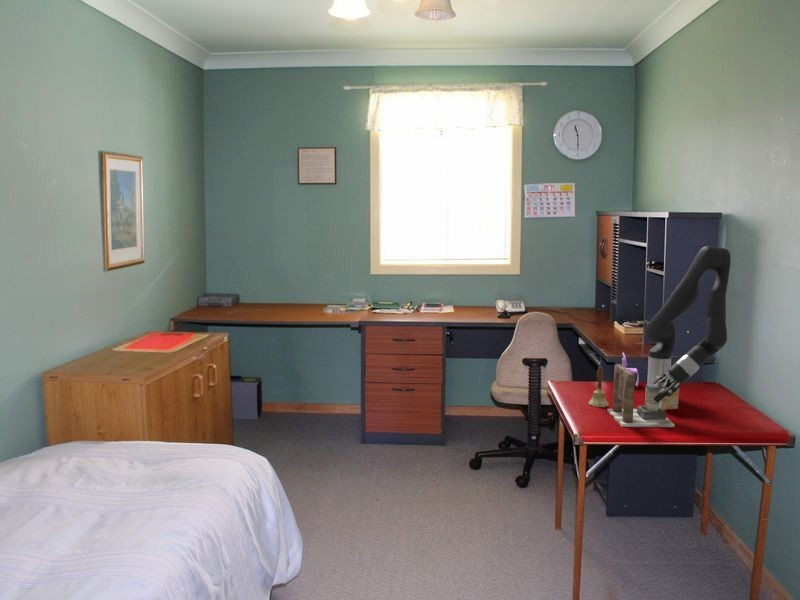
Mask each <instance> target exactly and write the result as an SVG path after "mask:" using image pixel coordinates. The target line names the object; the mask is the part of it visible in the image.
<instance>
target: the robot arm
mask: <svg viewBox="0 0 800 600" xmlns="http://www.w3.org/2000/svg"><path fill="white" fill-rule="evenodd" d="M731 259H732V258H731V253H730V250H728V249H727V248H725V247H719V246H712V245H705V246H703V247H702V248H700V249H699V251H698V252H697V254H696V255H695V257H694V258H693V261H692V263H691V264H690V267H688V270H687V271H686V273H685V274H684V276H683V277H682V279H681V281H680V282H679V283H678V284H677V286H675V288H674V290H673V291H672V292H671V294H670V296H669V298H668V299H667V300H665V302H664V304H663V305H662V307H661V308H660V309H659V310H658V311H657V313H656V314H655V315H654V316H653V317H652V318H651V319H650V320H649V321H648V323H647V324H646V327H645V330H644V332H645V333H644V335H645V337H646V338H647V340H649V342H654V343H656V342H657V343H656V344H655V345H654V346H652V347H651V348H650V349H649V350H648V363H647V379H646V381H647V382H646V385H657V386H659V387H660V389H663V390H662V391H661V392H662V393H661V392H660V393H659V394H658V395H657V396H656V397H655V398H654V400H655V401H656V402H657V403H658V402H660V401H661V400H662V399H663V398H664V397H665V396H666V397H667V396H668V397H670V396H671V395H672V394H673V393H674V392H675V391H676V390H677V389H678V388H679V389H680V388H681V385H684V383H685V382H686V381H688V380H689V379H690V378H691V377H692V376H693V375H695V373H696V372H698V370H699V369H700V368H701V367H702V366H703V365H704V364H705V363H706V362H707V361H708V360H710V358H711V357H712V356H713V355H715V354H716V353H717V352H719V351H720V350H721V349H723V348H724V346H726V343H727V341H728V334H727V333H728V332H727V331H728V330H727V323H726V320H727V319H726V318H727V314H726V313H727V308H726V307H727V305H726V304H727V303H726V302H727V301H726V300H727V299H726V297H727V289H728V284H729V277H730V269H731V261H732V260H731ZM706 271H714V273H715V280H714V284H713V286H712V287H711V290H710V292H709V293H708V296H707V297H706V301H705V319H706V320H705V321H706V325H707V326H706V336H705V337H704V338H702V340H700V342H699V343H698V344H697V345H695V346H693V347H692V348H691V349H690V350H689V351H687V352H686V353H685V354H684V355H683V356H681V357H680V358H679V359H678V360H676V361H675V362H674V363H673V364H672V355H673V352H674V351H675V350H674V349H675V340H676V326H675V324H674V322H673V321H675V319H677V318H679V317H681V316H682V315H683V314H684V313H686V312H687V311H689V310H690V309H691V308H692V306H693V305H694V304H695V303H696V301H697V300H698V299H699V297H700V293H701V291H700V290H701V289H700V280H701V278H702V277H703V275H704V273H705V272H706ZM656 376H658V377H659V378H658V379H657V380H656ZM678 382H679V384H678ZM680 384H681V385H680Z"/></svg>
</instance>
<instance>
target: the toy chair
mask: <svg viewBox="0 0 800 600" xmlns="http://www.w3.org/2000/svg"><path fill="white" fill-rule="evenodd" d="M621 361H622V363H621V365H622V366H624V367H625V368H626V369H627V370H628V371H630V372H631V373H632V374H637V379H636V382H635V386H637V387H636V388H638V386H639V382H640V381H639V380H640V375H639V373H638V372H639V371H638V369H637V368H635V367H627V366H628V362H627V358H626V355H625V352H622V357H621Z"/></svg>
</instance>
